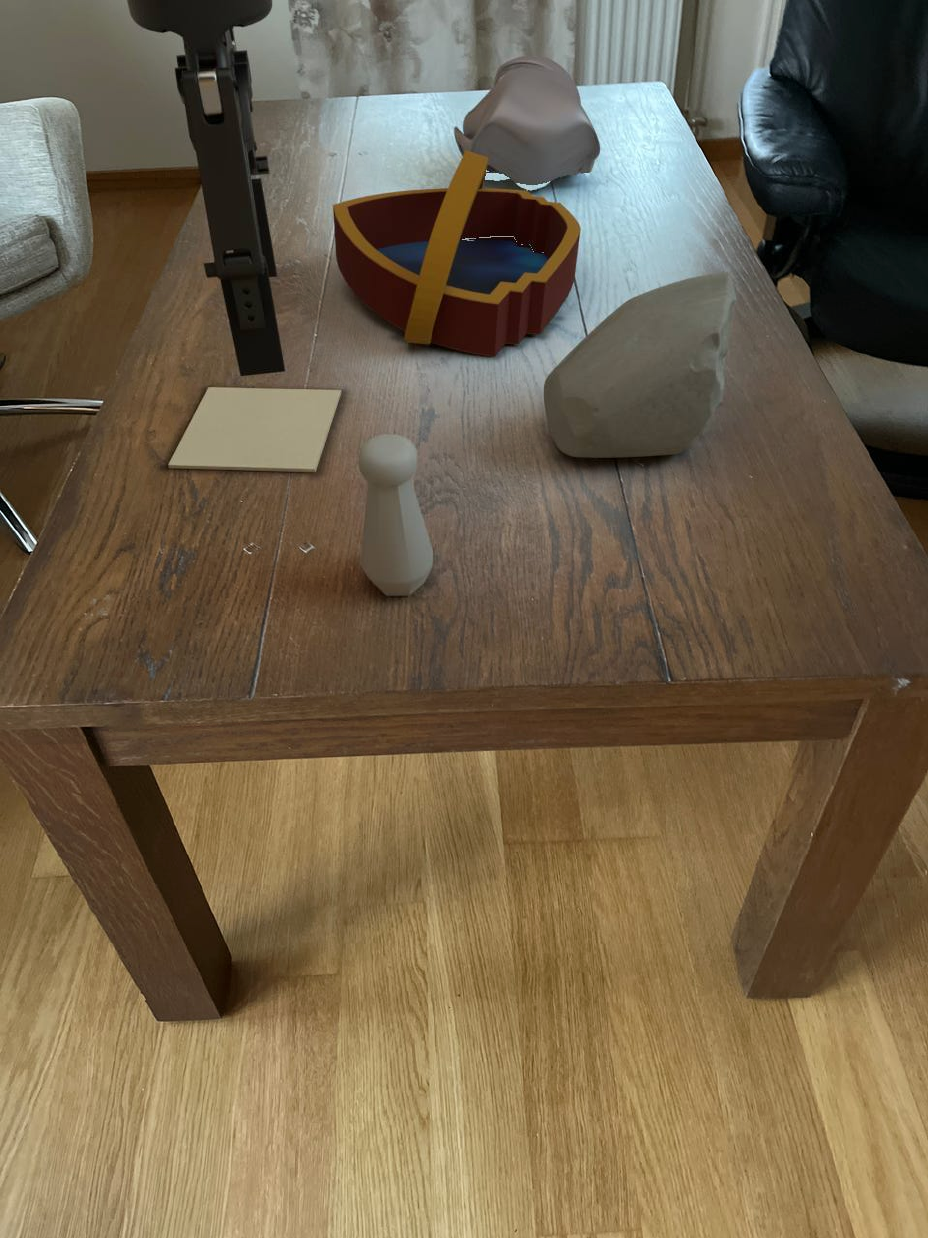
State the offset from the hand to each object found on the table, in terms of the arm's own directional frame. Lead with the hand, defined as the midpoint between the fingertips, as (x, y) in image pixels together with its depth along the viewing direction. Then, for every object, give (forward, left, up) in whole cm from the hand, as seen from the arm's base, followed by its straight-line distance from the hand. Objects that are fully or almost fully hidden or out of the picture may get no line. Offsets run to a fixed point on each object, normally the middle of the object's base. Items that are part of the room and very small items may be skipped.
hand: (260, 320), depth 63 cm
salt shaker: (+4, -7, -22) cm, 23 cm away
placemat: (+12, +19, -22) cm, 31 cm away
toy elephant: (+80, +38, -22) cm, 91 cm away
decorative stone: (+33, -11, -22) cm, 41 cm away
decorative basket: (+47, +23, -22) cm, 56 cm away
